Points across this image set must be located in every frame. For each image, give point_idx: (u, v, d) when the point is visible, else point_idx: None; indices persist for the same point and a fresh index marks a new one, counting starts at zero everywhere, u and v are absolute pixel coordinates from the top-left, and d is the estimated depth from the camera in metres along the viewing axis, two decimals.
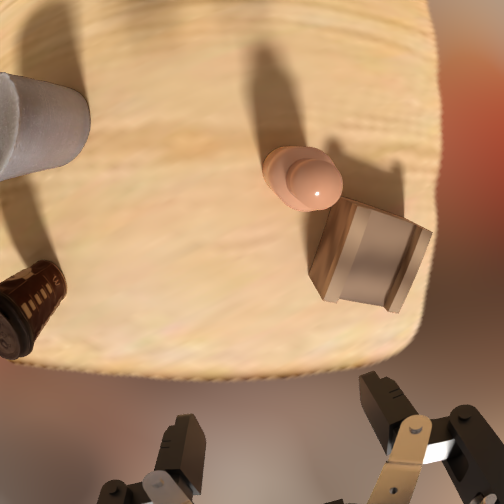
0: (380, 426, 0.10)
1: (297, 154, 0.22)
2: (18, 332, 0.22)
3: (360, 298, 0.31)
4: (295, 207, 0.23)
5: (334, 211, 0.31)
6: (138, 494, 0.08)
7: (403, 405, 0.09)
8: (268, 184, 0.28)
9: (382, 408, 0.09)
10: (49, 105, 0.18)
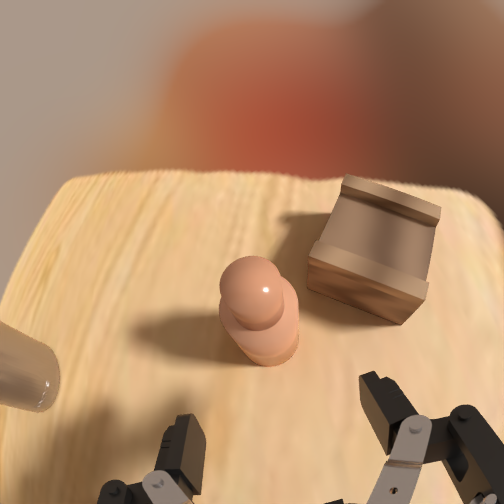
0: (380, 426, 0.10)
1: (226, 312, 0.19)
2: None
3: (426, 255, 0.23)
4: (290, 324, 0.18)
5: (324, 289, 0.27)
6: (138, 494, 0.08)
7: (403, 405, 0.09)
8: (274, 359, 0.23)
9: (382, 408, 0.09)
10: None
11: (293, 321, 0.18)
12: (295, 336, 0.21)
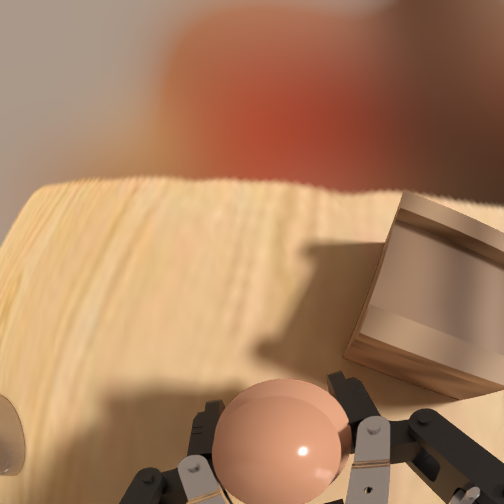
0: None
1: None
2: None
3: None
4: None
5: (369, 363, 0.17)
6: (172, 481, 0.08)
7: (366, 406, 0.10)
8: None
9: (343, 407, 0.10)
10: None
11: (342, 466, 0.08)
12: None
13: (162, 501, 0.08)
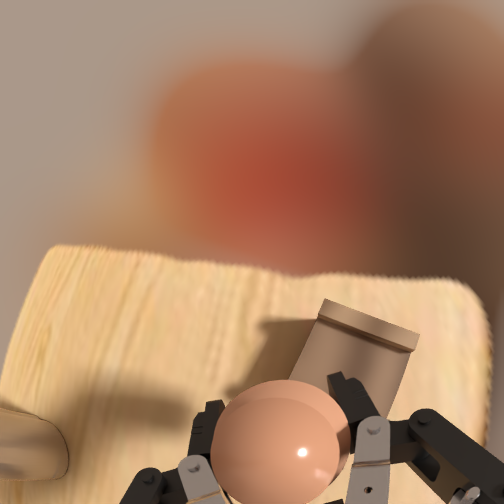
0: None
1: None
2: None
3: (394, 385, 0.23)
4: None
5: None
6: (173, 481, 0.08)
7: (366, 406, 0.10)
8: None
9: (343, 407, 0.10)
10: None
11: (341, 467, 0.08)
12: None
13: (162, 501, 0.08)
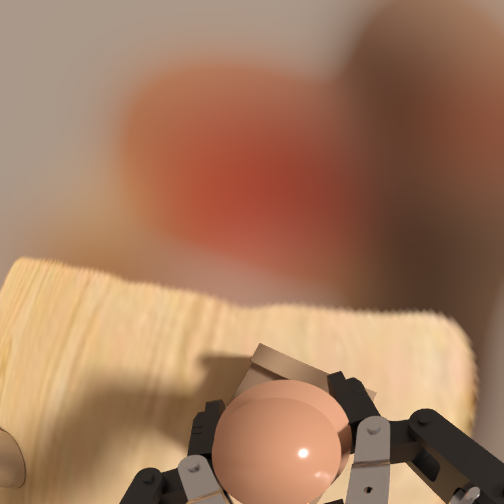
0: None
1: None
2: None
3: None
4: None
5: None
6: (173, 481, 0.08)
7: (366, 406, 0.10)
8: None
9: (343, 407, 0.10)
10: None
11: (342, 467, 0.08)
12: None
13: (162, 501, 0.08)
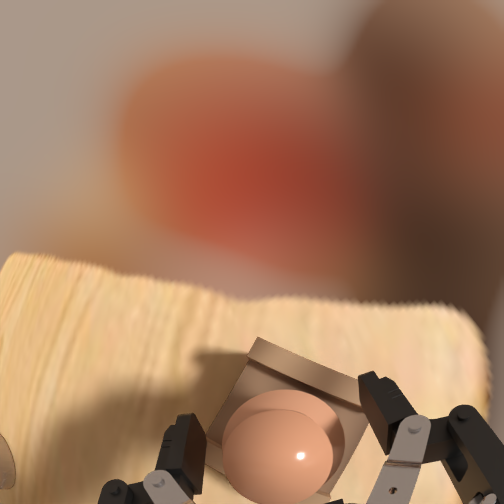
0: (379, 426, 0.10)
1: None
2: None
3: (345, 454, 0.16)
4: (331, 471, 0.09)
5: None
6: (139, 493, 0.08)
7: (402, 405, 0.09)
8: None
9: (381, 408, 0.09)
10: None
11: (336, 468, 0.09)
12: None
13: None
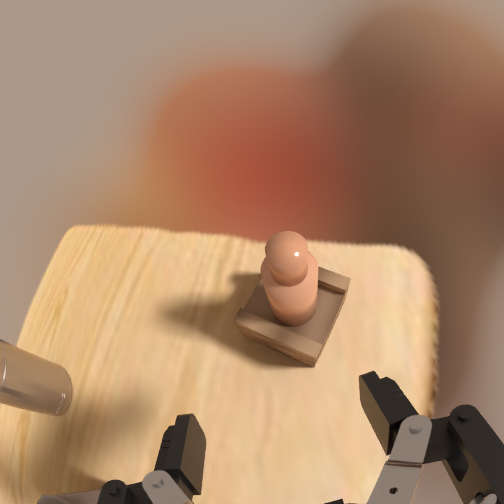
0: (380, 426, 0.10)
1: (266, 274, 0.27)
2: None
3: (329, 319, 0.32)
4: (312, 281, 0.26)
5: (254, 338, 0.36)
6: (138, 494, 0.08)
7: (403, 405, 0.09)
8: (299, 317, 0.30)
9: (382, 408, 0.09)
10: (87, 495, 0.20)
11: (315, 279, 0.26)
12: (315, 296, 0.29)
13: None
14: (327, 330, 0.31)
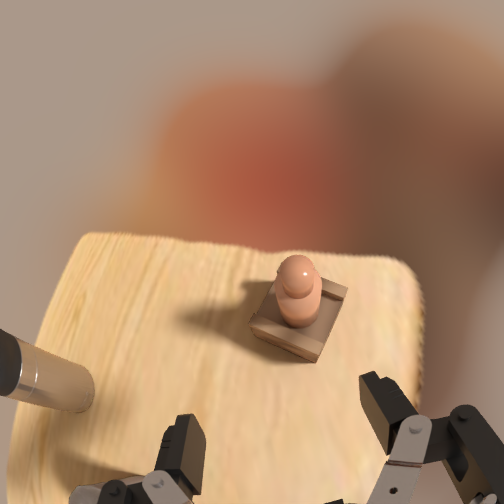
0: (380, 426, 0.10)
1: (279, 288, 0.32)
2: None
3: (329, 322, 0.38)
4: (317, 294, 0.31)
5: (264, 338, 0.42)
6: (138, 494, 0.08)
7: (403, 405, 0.09)
8: (304, 321, 0.35)
9: (382, 408, 0.09)
10: None
11: (319, 293, 0.31)
12: (318, 305, 0.34)
13: None
14: (328, 331, 0.37)
